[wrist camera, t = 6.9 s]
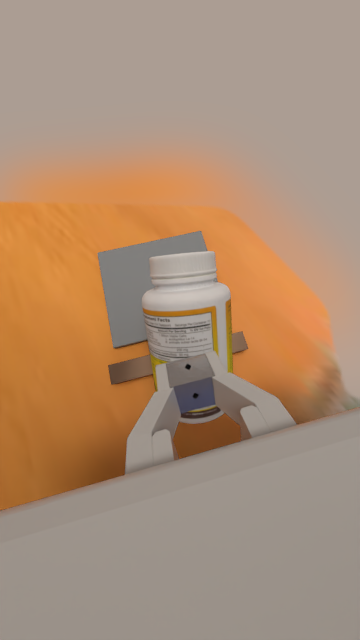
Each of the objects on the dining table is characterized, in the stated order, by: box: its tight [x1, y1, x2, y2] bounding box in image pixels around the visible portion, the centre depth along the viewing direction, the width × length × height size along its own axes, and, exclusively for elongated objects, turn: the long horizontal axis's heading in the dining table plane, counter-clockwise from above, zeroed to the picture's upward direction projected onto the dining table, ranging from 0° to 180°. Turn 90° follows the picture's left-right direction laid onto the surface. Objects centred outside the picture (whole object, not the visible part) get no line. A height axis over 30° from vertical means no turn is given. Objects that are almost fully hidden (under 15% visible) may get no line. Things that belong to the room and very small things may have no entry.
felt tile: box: [98, 231, 218, 348], centre depth 20 cm, size 11×10×1 cm
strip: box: [108, 332, 248, 385], centre depth 18 cm, size 12×2×1 cm, turn 104°
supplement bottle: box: [142, 251, 233, 424], centre depth 13 cm, size 6×6×10 cm
